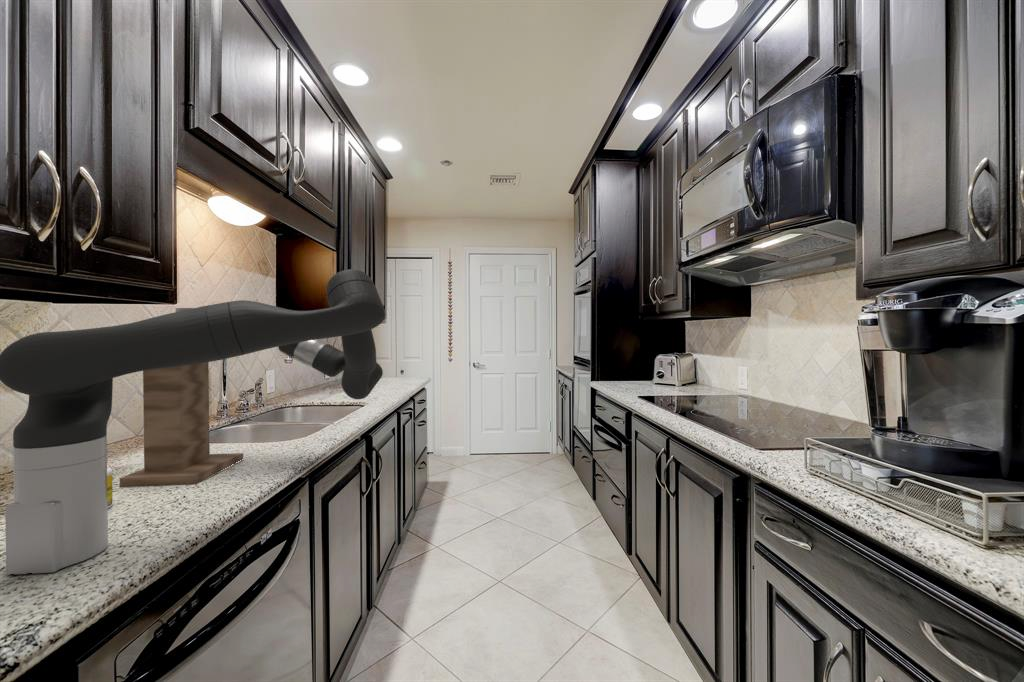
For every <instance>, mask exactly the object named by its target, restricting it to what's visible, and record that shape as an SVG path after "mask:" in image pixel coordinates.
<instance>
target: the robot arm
mask: <svg viewBox="0 0 1024 682" xmlns="http://www.w3.org/2000/svg"><path fill="white" fill-rule="evenodd" d="M325 293H326V296H325V297H326V299H327V300H326V301H327V303H328V305H329V307H328V308H319V309H314V310H293V309H289V308H288V309H287V308H283V307H279V306H276V305H271V304H268V303H267V304H266V303H265V302H264V303H262V302H257V301H253V300H246V299H245V300H243V299H242V300H241V299H240V300H232V301H227V302H219V303H215V304H213V303H212V304H209V305H203V306H198V307H192V308H193V309H188V310H183V311H179V312H176V311H174V312H170V313H166V314H162V315H157V316H154V317H151V318H147V319H143V320H138V321H135V322H134V321H133V322H129V323H123V324H118V325H109V326H102V327H93V328H92V327H91V328H85V329H72V330H62V331H46V332H45V331H43V332H36V333H33V334H29V335H26V336H23V337H22V338H19V339H17V340H16V341H14V342H11V344H8V346H6V347H5V348H4V349H3V350H2V351H1V353H0V383H3V385H5V387H7V388H8V389H10V390H13V391H15V392H17V393H20V394H24V395H27V396H28V407H27V408H26V409H27V410H26V412H25V415H24V416H23V418H22V419H21V421H20V422H18V423H17V425H16V426H15V427H14V429H13V434H12V442H13V443H12V446H13V447H12V448H13V454H12V455H13V456H12V457H13V502H12V503H9V504H7V505H6V506H5V508H4V509H5V512H4V513H5V517H4V518H5V573H6V574H14V575H28V574H27V573H32V574H46V573H49V574H50V573H56V572H57V571H59V570H61V569H63V568H66V567H69V566H70V567H71V566H72V565H75V564H78V563H81V562H83V561H86V560H88V559H90V558H93V557H94V556H96V555H99V554H100V553H102V552H103V551H104V550H106V549H107V547H108V545H109V518H108V517H109V516H108V509H107V467H108V463H107V458H108V457H107V455H108V454H107V453H108V449H107V448H108V445H107V441H108V439H107V434H108V433H107V431H108V430H107V429H108V422H109V419H110V417H111V414H112V409H113V387H114V384H113V381H114V379H115V378H118V377H122V376H125V375H130V374H133V373H134V374H135V373H139V372H143V371H144V370H151V369H158V368H167V367H176V366H185V365H192V364H199V363H206V362H208V363H211V362H215V361H216V362H217V361H223V360H226V359H231V358H236V357H239V356H245V355H249V354H254V353H256V352H260V351H265V350H268V349H273V348H274V349H275V348H277V347H278V351H279V352H281V353H282V354H284V355H286V356H288V357H290V358H292V359H294V360H296V361H297V362H299V363H301V364H303V365H306V366H307V367H310V368H312V369H314V370H316V371H318V372H319V373H322V374H323V375H325V376H327V377H329V378H334V377H337V376H338V375H339V374H341V373H342V377H341V387H342V390H343V392H344V393H345V394H346V395H347V396H348V397H349V398H351V399H353V400H363V399H365V398H367V397H368V396H369V395H370V394H371V392H372V391H373V389H374V388H375V386H376V385H377V384H378V383H379V382H380V380H381V379H382V377H383V375H384V373H383V368H382V367H381V365H380V364H379V363H378V361H377V349H376V343H375V339H374V335H373V331H372V330H373V329H375V328H377V327H379V326H380V325H381V324H382V323H383V322H384V320H385V319H386V310H385V308H384V304H383V301H382V299H381V297H380V294H379V292H378V289H377V287H376V285H375V283H374V281H373V279H372V278H371V277H370V275H368V274H367V273H366V272H364V271H362V270H358V269H354V268H350V269H345V270H342V271H341V270H340V271H338V272H337V273H335V274H333V276H332V277H330V279H329V280H328V282H327V285H326V288H325ZM337 337H341V343H342V344H341V345H342V350H340V349H338V348H336V347H335V346H333V345H331V344H329V343H328V342H326V340H324V339H328V338H329V339H330V338H337ZM6 574H5V575H6Z"/></svg>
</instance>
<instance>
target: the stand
mask: <svg viewBox="0 0 1024 682" xmlns="http://www.w3.org/2000/svg"><path fill="white" fill-rule="evenodd" d="M209 373H210V372H209V362H206V363H199V364H192V365H185V366H176V367H167V368H158V369H151V370H144V371H142V384H143V385H142V390H143V392H142V397H143V398H142V399H143V400H142V401H143V403H142V404H143V405H142V406H143V463H144V465H143V466H144V467H143V468H142V469H140V470H137V471H135V472H132V473H130V474H127V475H124V476H121V477H119V488H129V487H130V488H132V487H133V488H134V487H157V486H182V485H187V486H188V485H198V484H200V483H202V482H204V481H205V479H206V478H208V477H210V476H212V475H213V474H215V473H217V472H219V471H221V470H223V469H225V468H227V467H229V466H231V465H232V464H235V463H236V462H238V461H240V460H242V459H243V460H244V453H243V452H241V453H240V452H237V453H233V452H232V453H212V454H211V453H210V391H209V389H210V387H209V386H210V385H209V383H210V382H209V381H210V377H209V376H210V374H209ZM235 465H236V464H235ZM212 477H213V476H212ZM210 478H211V477H210ZM208 479H209V478H208ZM203 480H204V481H203ZM206 480H207V479H206ZM201 481H202V482H201ZM199 482H200V483H199ZM197 483H198V484H197Z"/></svg>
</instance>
